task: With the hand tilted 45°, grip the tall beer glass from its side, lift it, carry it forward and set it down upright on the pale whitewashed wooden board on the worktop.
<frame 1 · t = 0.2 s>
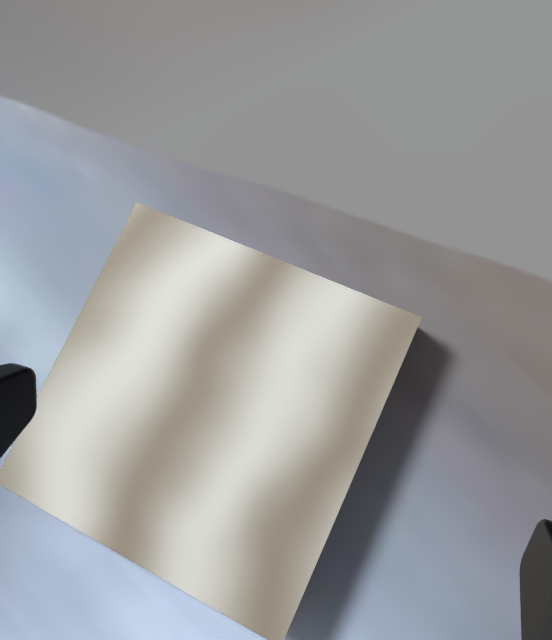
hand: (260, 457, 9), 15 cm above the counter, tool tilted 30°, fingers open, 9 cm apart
shelf board: (213, 403, 24), on the counter
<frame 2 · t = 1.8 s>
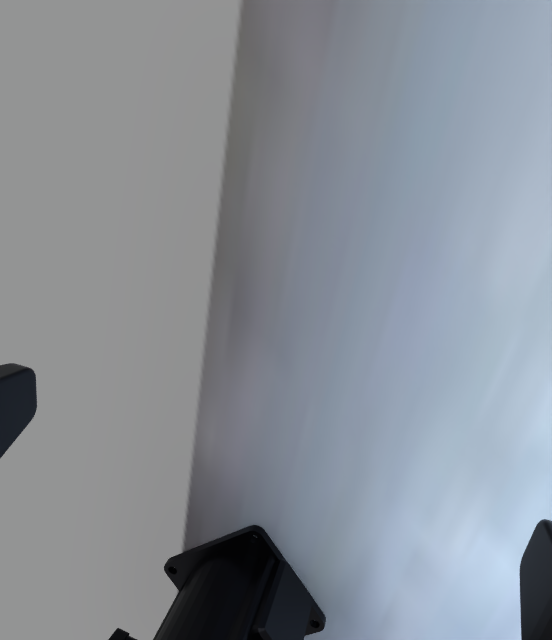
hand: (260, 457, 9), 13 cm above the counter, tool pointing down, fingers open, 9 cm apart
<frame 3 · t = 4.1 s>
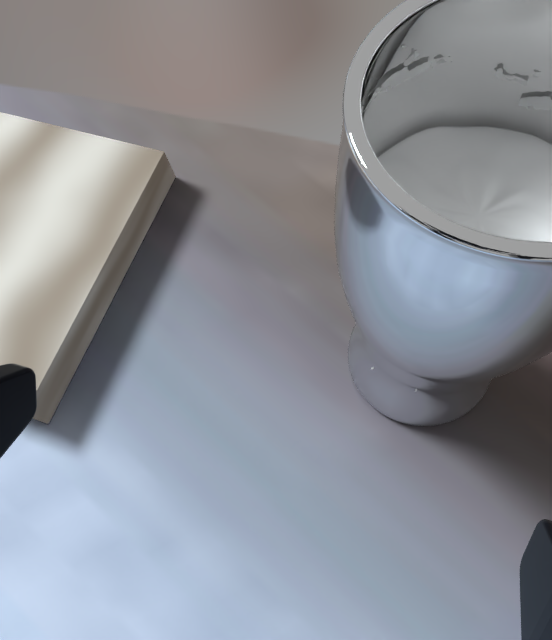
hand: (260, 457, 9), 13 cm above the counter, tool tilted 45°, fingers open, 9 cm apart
shelf board: (2, 253, 28), on the counter
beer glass: (417, 358, 23), on the counter
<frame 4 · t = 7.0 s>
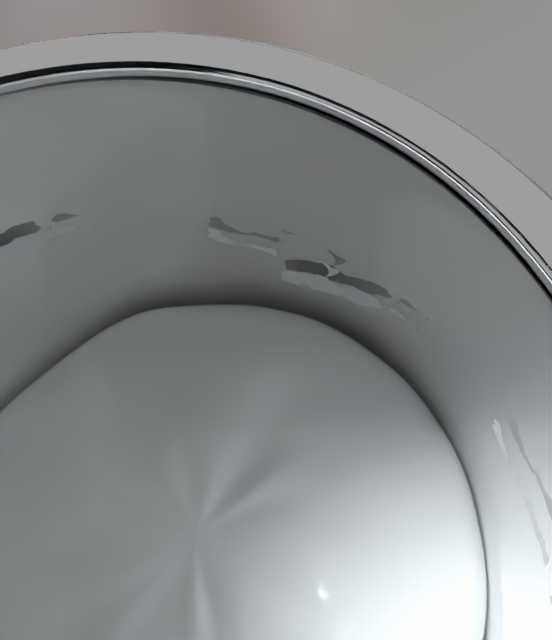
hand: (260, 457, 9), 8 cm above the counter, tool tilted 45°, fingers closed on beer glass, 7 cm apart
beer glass: (277, 544, 16), on the counter, touching gripper
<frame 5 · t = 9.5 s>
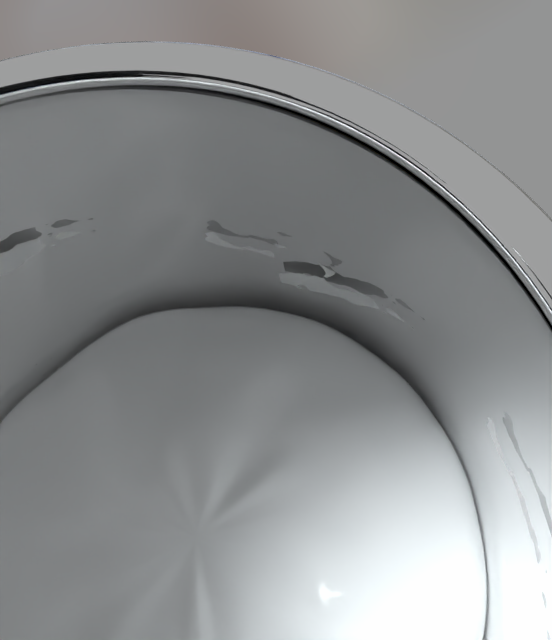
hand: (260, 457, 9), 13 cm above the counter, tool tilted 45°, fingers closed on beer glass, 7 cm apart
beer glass: (285, 545, 16), point 5 cm above the counter, touching gripper
when the fingers open (11 cm above the counter, at t = 11.9 s): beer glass drops 1 cm, resting on shelf board.
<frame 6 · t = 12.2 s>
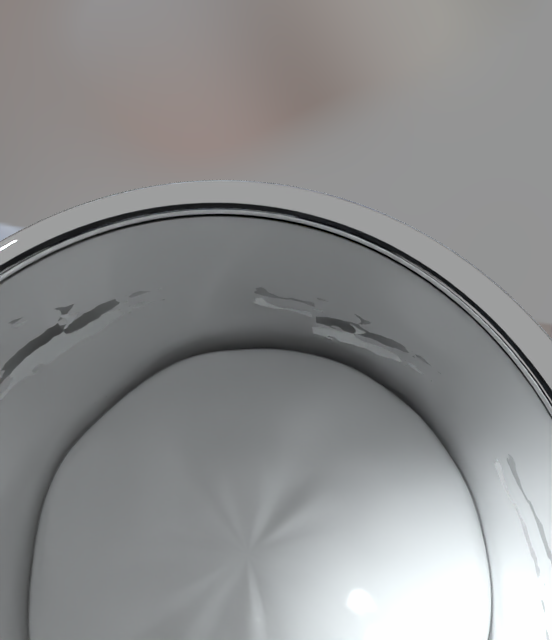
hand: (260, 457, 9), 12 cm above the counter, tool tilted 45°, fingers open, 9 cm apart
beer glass: (293, 549, 18), point 2 cm above the counter, touching shelf board
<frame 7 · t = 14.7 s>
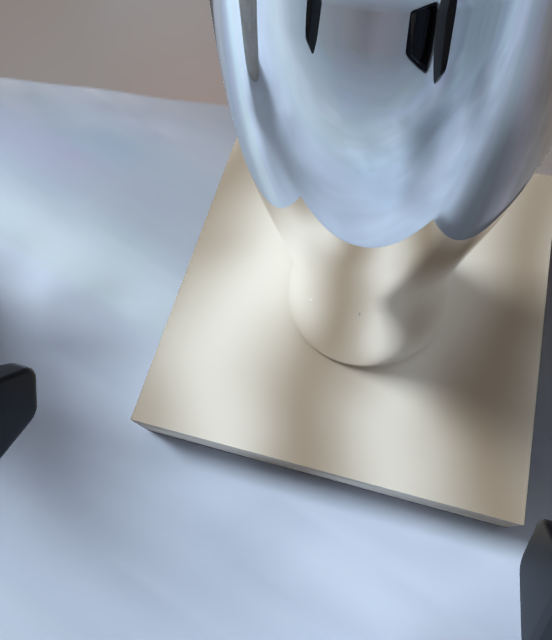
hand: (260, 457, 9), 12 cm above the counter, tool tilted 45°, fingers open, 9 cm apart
shelf board: (353, 312, 23), on the counter
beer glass: (365, 296, 21), point 2 cm above the counter, touching shelf board
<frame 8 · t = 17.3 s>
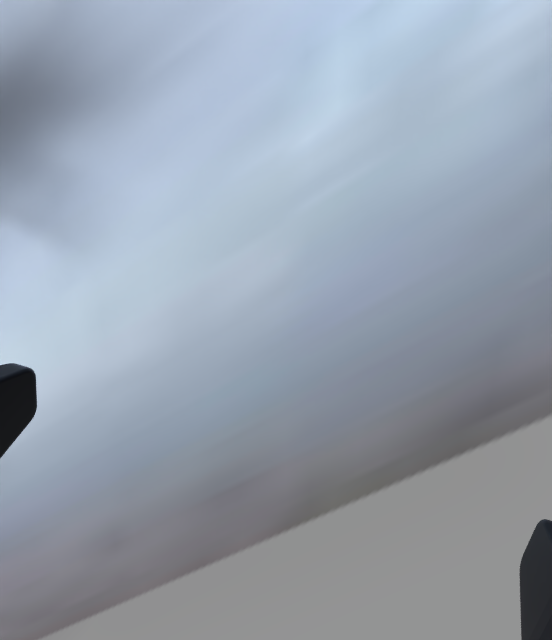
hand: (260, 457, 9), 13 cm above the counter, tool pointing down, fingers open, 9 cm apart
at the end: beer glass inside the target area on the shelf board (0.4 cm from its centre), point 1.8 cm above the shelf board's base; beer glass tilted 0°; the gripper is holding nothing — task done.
